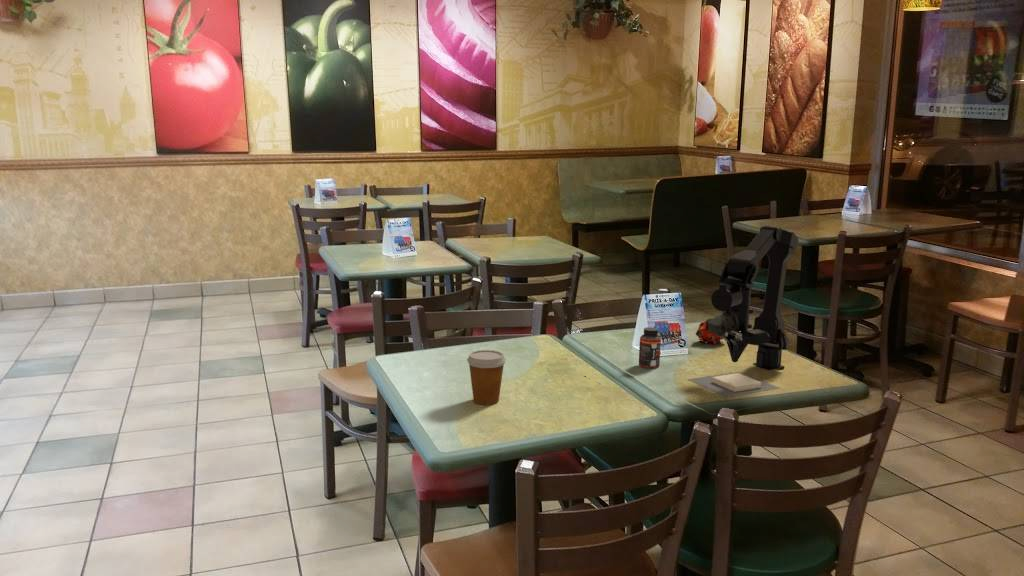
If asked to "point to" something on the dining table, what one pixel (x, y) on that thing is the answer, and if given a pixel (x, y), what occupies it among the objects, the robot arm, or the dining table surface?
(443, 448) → the dining table surface
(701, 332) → the dragon fruit
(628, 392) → the dining table surface
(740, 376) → the tile
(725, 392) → the mat
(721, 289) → the robot arm
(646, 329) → the supplement bottle
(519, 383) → the dining table surface
